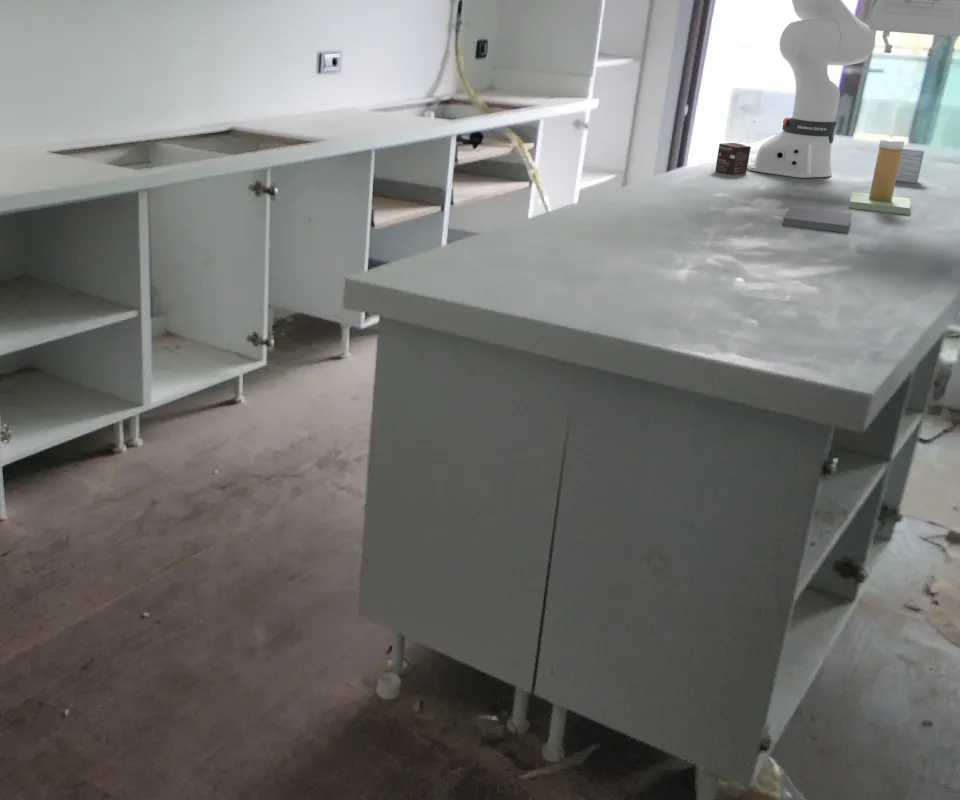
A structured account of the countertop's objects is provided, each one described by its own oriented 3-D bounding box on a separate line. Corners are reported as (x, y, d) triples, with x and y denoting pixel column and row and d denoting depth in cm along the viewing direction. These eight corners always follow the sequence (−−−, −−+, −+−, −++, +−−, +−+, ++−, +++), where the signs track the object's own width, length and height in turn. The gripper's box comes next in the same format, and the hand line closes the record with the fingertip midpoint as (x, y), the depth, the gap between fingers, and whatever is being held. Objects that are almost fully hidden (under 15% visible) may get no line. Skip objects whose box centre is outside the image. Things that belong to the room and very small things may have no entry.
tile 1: (782, 224, 204) (783, 217, 203) (788, 213, 215) (789, 206, 214) (847, 233, 200) (848, 225, 199) (850, 220, 211) (851, 214, 210)
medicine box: (917, 181, 261) (925, 148, 258) (917, 184, 258) (924, 151, 254) (886, 178, 264) (893, 145, 261) (885, 180, 261) (892, 147, 257)
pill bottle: (872, 200, 225) (884, 141, 219) (865, 196, 229) (877, 138, 224) (895, 202, 224) (907, 143, 219) (887, 198, 229) (900, 140, 224)
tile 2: (848, 207, 224) (849, 201, 223) (851, 197, 235) (852, 191, 234) (908, 214, 220) (910, 208, 219) (908, 204, 231) (909, 198, 230)
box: (714, 171, 261) (718, 143, 258) (729, 169, 264) (733, 142, 261) (731, 175, 256) (736, 147, 254) (747, 173, 260) (751, 146, 257)
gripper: (973, -8, 217) (957, 57, 223) (877, -14, 223) (864, 49, 229) (974, -7, 211) (958, 59, 217) (875, -14, 218) (862, 51, 224)
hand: (909, 54), depth 223 cm, fingers open, 8 cm apart
